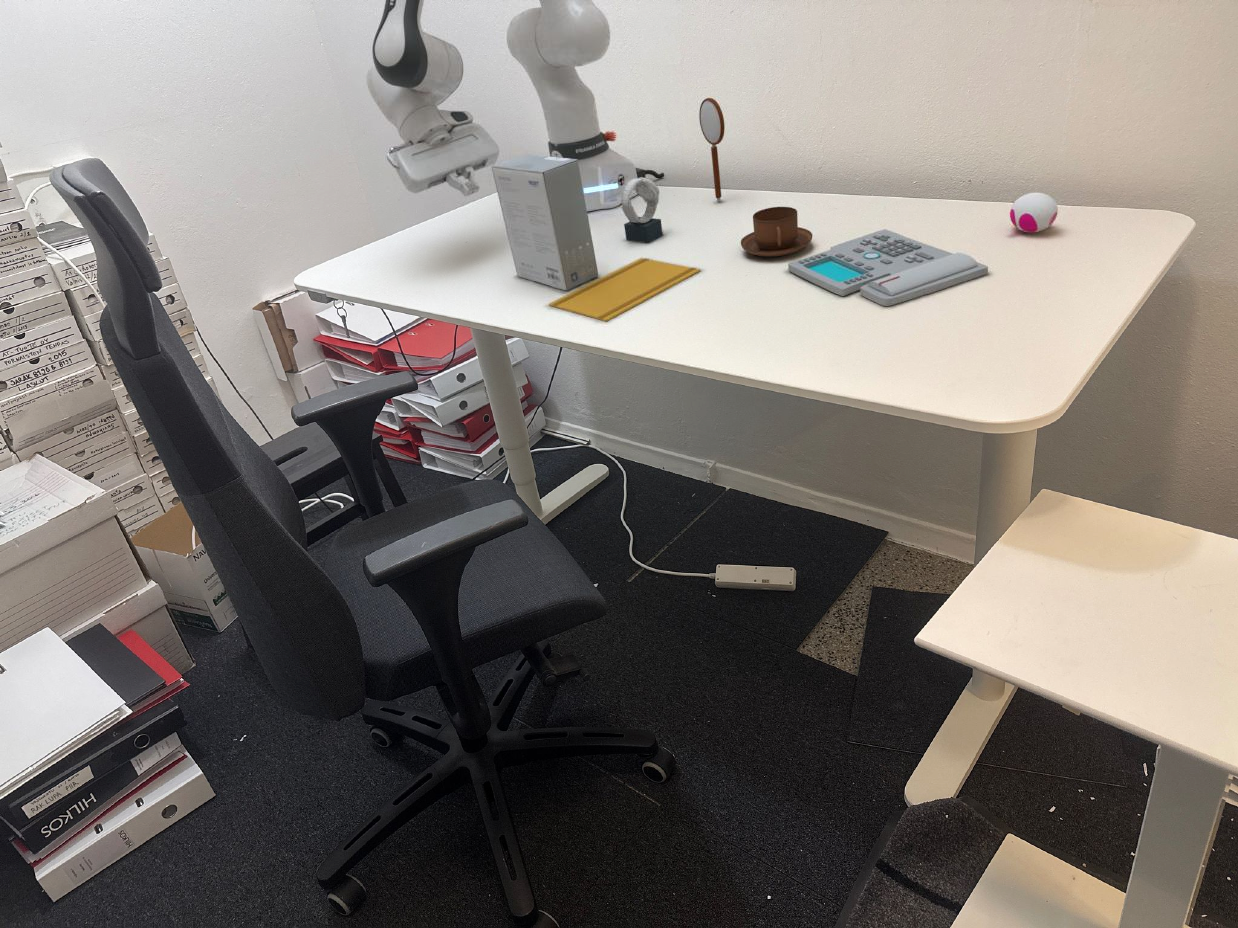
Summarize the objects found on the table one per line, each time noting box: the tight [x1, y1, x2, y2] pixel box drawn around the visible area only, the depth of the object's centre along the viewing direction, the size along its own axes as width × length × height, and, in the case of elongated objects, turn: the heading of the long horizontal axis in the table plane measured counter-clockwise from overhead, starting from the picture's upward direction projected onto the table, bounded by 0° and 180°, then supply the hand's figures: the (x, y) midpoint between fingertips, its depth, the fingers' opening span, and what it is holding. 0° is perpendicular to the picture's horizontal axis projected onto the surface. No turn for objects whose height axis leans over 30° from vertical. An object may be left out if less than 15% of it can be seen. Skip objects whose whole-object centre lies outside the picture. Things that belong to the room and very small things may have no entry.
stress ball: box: [1009, 192, 1059, 236], centre depth 128 cm, size 8×8×7 cm
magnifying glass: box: [698, 97, 725, 203], centre depth 163 cm, size 9×2×20 cm, turn 23°
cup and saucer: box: [740, 206, 813, 257], centre depth 138 cm, size 12×12×6 cm
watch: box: [621, 178, 664, 244], centre depth 154 cm, size 6×8×11 cm
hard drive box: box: [491, 154, 599, 291], centre depth 141 cm, size 16×8×20 cm, turn 41°
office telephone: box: [787, 228, 989, 307], centre depth 124 cm, size 23×3×20 cm
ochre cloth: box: [548, 257, 701, 322], centre depth 136 cm, size 22×14×1 cm, turn 134°
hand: (472, 192), depth 152 cm, fingers closed
